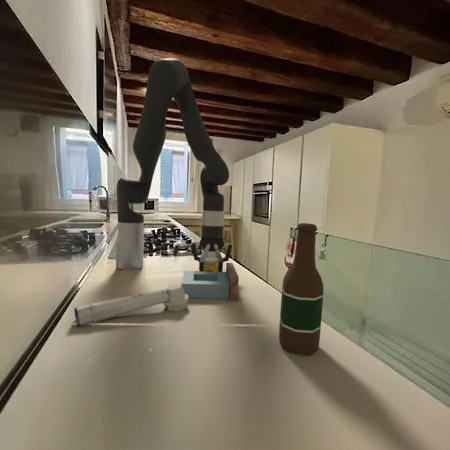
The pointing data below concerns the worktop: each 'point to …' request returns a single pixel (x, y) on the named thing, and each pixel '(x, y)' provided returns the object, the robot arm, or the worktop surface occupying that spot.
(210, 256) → the supplement bottle
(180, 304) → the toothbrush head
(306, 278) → the beer bottle
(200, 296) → the socket block
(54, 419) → the worktop surface
